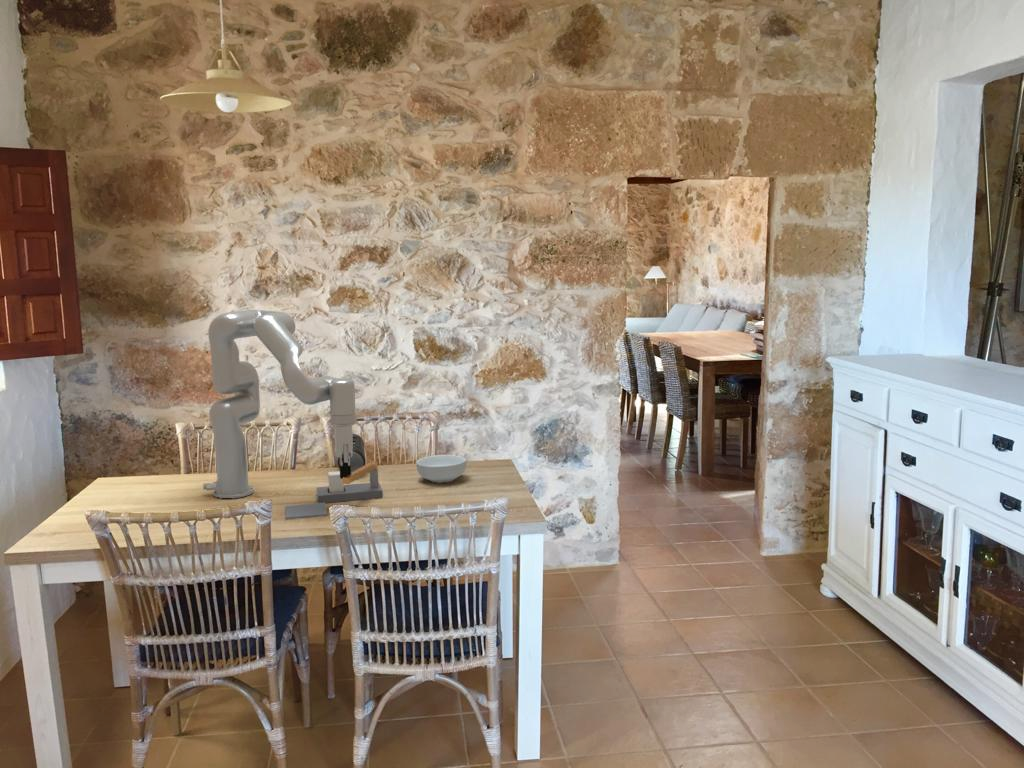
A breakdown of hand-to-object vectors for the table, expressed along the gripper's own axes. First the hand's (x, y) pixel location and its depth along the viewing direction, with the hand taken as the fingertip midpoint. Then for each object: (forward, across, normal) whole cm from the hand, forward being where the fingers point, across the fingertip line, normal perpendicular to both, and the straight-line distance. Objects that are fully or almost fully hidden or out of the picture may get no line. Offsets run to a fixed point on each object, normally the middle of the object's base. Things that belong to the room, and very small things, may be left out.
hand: (345, 477), depth 260 cm
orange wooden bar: (0, -3, +5) cm, 6 cm away
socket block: (+9, -10, +2) cm, 14 cm away
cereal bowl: (+9, -20, +34) cm, 40 cm away
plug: (+9, -10, -2) cm, 14 cm away
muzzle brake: (+10, -45, +6) cm, 46 cm away
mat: (+9, +2, -12) cm, 15 cm away
